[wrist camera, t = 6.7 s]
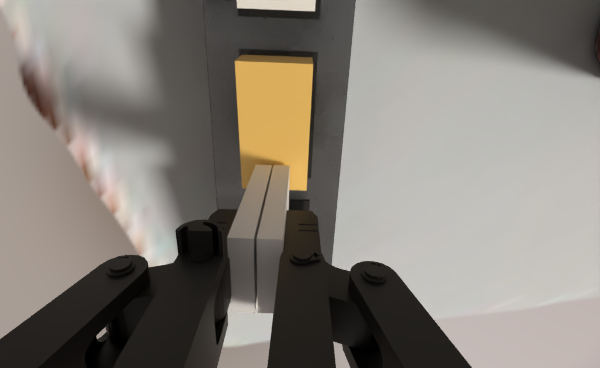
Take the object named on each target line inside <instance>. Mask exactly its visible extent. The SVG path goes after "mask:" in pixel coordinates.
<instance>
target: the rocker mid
mask: <svg viewBox="0 0 600 368" xmlns="http://www.w3.org/2000/svg"><path fill="white" fill-rule="evenodd" d="M235 74H236V91H237V108H238V126H239V143H240V161H241V178H242V188H247V186H248V183H249V181H250V178H251V176H252V173H253V170H254V168H255V165H272V170H273V166H274V165H283V166H290V176H289V190H302V191H306V190H307V171H308V152H309V134H310V115H311V96H312V78H313V60H312V57H290V56H265V55H241V56H240V57H239V58H238V59H236V60H235Z"/></svg>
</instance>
